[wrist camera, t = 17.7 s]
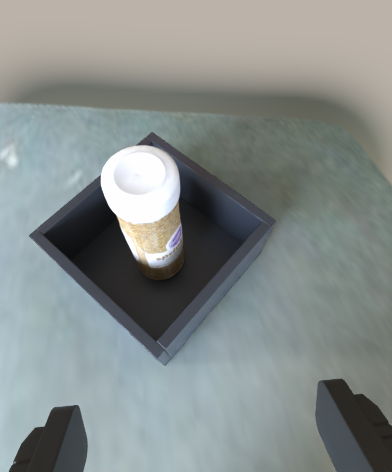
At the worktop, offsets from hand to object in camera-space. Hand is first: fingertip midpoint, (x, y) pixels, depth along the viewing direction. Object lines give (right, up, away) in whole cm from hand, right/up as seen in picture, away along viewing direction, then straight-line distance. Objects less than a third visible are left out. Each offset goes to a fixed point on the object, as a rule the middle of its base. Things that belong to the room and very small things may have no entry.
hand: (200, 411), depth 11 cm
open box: (-3, +4, +21) cm, 21 cm away
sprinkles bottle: (-3, +4, +20) cm, 21 cm away
